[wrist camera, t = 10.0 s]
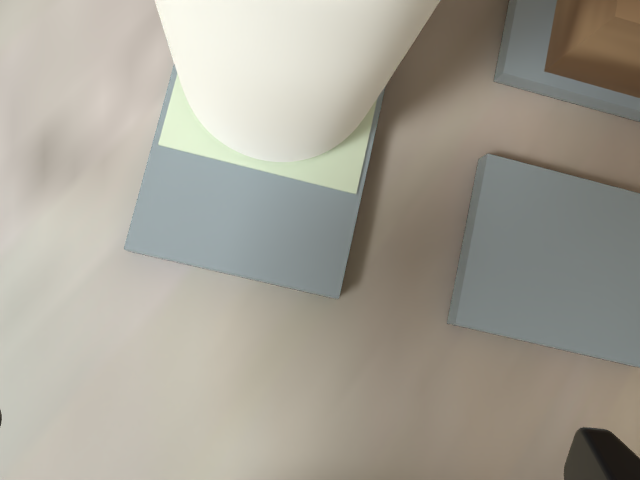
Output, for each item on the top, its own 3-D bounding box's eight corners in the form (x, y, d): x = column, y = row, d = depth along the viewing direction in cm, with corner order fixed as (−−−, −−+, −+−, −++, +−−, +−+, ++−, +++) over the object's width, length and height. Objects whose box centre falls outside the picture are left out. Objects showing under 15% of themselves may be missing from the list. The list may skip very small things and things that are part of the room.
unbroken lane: (335, 298, 19) (339, 298, 19) (128, 251, 19) (122, 248, 18) (416, -71, 21) (424, -88, 20) (231, -127, 21) (230, -146, 20)
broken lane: (631, 366, 21) (647, 368, 20) (447, 323, 20) (455, 324, 19) (685, 8, 22) (701, -3, 22) (517, -42, 22) (527, -55, 21)
